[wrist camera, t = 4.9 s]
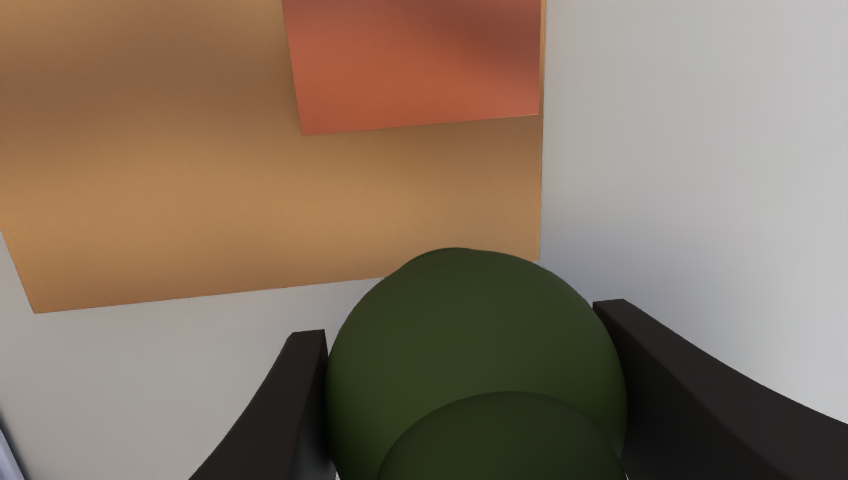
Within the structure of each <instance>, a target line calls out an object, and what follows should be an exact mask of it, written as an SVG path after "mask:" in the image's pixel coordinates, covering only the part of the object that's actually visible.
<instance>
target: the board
mask: <svg viewBox="0 0 848 480" xmlns="http://www.w3.org/2000/svg"><path fill="white" fill-rule="evenodd" d="M545 26H546V0H0V230H1V232H2V235H3V237H4V240H5V242H6V245H7V247H8V250H9V252H10V255H11V257H12V260H13V262H14V265H15V268H16V270H17V273H18V275H19V278H20V280H21V283H22V285H23V288H24V290H25V293H26V295H27V298H28V300H29V303H30V305H31V308H32V310H33V313H34V314H38V313H47V312H57V311H66V310H76V309H85V308H95V307H104V306H114V305H123V304H133V303H142V302H152V301H161V300H171V299H180V298H190V297H199V296H209V295H218V294H228V293H237V292H247V291H256V290H266V289H275V288H285V287H294V286H304V285H313V284H323V283H332V282H342V281H351V280H361V279H370V278H380V277H387V276H389V275H390V274H392V273H393V272H395V271H396V270H398V269H399V268H400V267H402V266H403V265H404V264H405V263H407V262H408V261H410V260H411V259H413V258H415V257H417V256H419V255H421V254H424V253H426V252H429V251H432V250H436V249H441V248H450V247H461V248H469V249H474V250H485V251H495V252H500V253H505V254H510V255H514V256H517V257H520V258H522V259H525V260H528V261H530V262H532V261H539V255H540V217H541V178H542V140H543V102H544V64H545Z"/></svg>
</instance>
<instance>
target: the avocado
mask: <svg viewBox="0 0 848 480" xmlns="http://www.w3.org/2000/svg"><path fill="white" fill-rule="evenodd" d="M627 415H628V404H627V391H626V384H625V377H624V374H623V370H622V366H621V363H620V359H619V356H618V353H617V350H616V348H615V346H614V344H613V342H612V340H611V338H610V336H609V334H608V332H607V330H606V328H605V326H604V324H603V323H602V321H601V320H600V319H599V317H598V316H597V315H596V313H595V312H594V311H593V309H592V308H591V307H590V305H589V304H588V303H587V301H586V300H585V299H584V298H583V297H582V296H580V295H579V294H578V293H577V292H576V291H575V290H574V289H573V288H572V287H571V286H570V285H568V284H567V283H566V282H565V281H563V280H562V279H561V278H559V277H558V276H556V275H555V274H553V273H552V272H550V271H548V270H546V269H544V268H542V267H540V266H538V265H536V264H534V263H532V262H530V261H528V260H525V259H522V258H520V257H517V256H514V255H510V254H505V253H500V252H495V251H485V250H474V249H469V248H461V247H450V248H441V249H436V250H432V251H429V252H426V253H424V254H421V255H419V256H417V257H415V258H413V259H411V260H410V261H408V262H407V263H405V264H404V265H403V266H402V267H400V268H399V269H398V270H396V271H395V272H393V273H392V274H390V275H389V276H387V277H386V278H385V279H383V280H382V281H380V282H379V283H378V284H376V285H375V286H374V287H373V288H372V289H371V290H370V291H369V292H368V293H367V294H366V295H364V297H363V298H362V299H361V300H360V301H359V303H358V304H357V305H356V306H355V307H354V309H353V310H352V312H351V313H350V314H349V316H348V317H347V319H346V321H345V322H344V324H343V325H342V327H341V329H340V330H339V333H338V335H337V337H336V339H335V342H334V344H333V346H332V349H331V352H330V354H329V358H328V361H327V365H326V369H325V376H324V384H323V420H324V430H325V437H326V442H327V446H328V450H329V454H330V457H331V460H332V462H333V464H334V467H335V469H336V471H337V473H338V475H339V478H340V480H627V477H626V474H625V472H624V469H623V467H622V464H621V462H620V460H619V459H620V456H621V454H622V451H623V446H624V441H625V435H626V428H627Z"/></svg>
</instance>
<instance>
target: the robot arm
mask: <svg viewBox="0 0 848 480" xmlns="http://www.w3.org/2000/svg"><path fill="white" fill-rule="evenodd" d="M592 309H593V311H594V312H595V313H596V315H597V316H598V317H599V319H600V320H601V321H602V323H603V324H604V326H605V328H606V330H607V332H608V334H609V336H610V338H611V340H612V342H613V344H614V346H615V348H616V350H617V353H618V356H619V359H620V363H621V366H622V370H623V374H624V377H625V384H626V391H627V404H628V415H627V428H626V435H625V441H624V446H623V451H622V454H621V456H620V459H619V460H620V462H621V464H622V467H623V469H624V471H625V473H626V475H627V477H628V479H629V480H848V424H846V423H844V422H841V421H839V420H836V419H834V418H831V417H829V416H826V415H824V414H822V413H819V412H817V411H815V410H813V409H810V408H808V407H806V406H804V405H802V404H800V403H798V402H796V401H793V400H791V399H789V398H787V397H785V396H783V395H781V394H779V393H777V392H775V391H773V390H771V389H769V388H767V387H765V386H763V385H761V384H759V383H757V382H755V381H754V380H752V379H750V378H748V377H747V376H745V375H743V374H741V373H740V372H738V371H736V370H734V369H733V368H731V367H729V366H727V365H726V364H724V363H722V362H721V361H719V360H717V359H716V358H714V357H712V356H711V355H709V354H707V353H706V352H704V351H703V350H701V349H699V348H698V347H696V346H695V345H693V344H692V343H690V342H689V341H687V340H685V339H684V338H682V337H681V336H679V335H678V334H676V333H675V332H673V331H672V330H670V329H669V328H667V327H666V326H664V325H663V324H661V323H660V322H658V321H657V320H655V319H654V318H652V317H651V316H649V315H648V314H646V313H645V312H643V311H642V310H640V309H639V308H637V307H636V306H634V305H633V304H631V303H629V302H628V301H626V300H624V299H615V300H605V301H596V302H593V308H592ZM327 361H328V351H327V344H326V337H325V330H324V329H321V330H312V331H302V332H293V333H292V334H291V335H290V336H289V337H288V338H287V340H286V342H285V344H284V346H283V348H282V350H281V352H280V354H279V356H278V357H277V359H276V361H275V363H274V364H273V366H272V368H271V370H270V371H269V373H268V375H267V376H266V378H265V380H264V381H263V383H262V384H261V386H260V387H259V389H258V390H257V392H256V394H255V395H254V397H253V398H252V400H251V401H250V403H249V404H248V406H247V407H246V409H245V410H244V412H243V413H242V414H241V416H240V417H239V418H238V420H237V421H236V422H235V424H234V425H233V426H232V428H231V429H230V431H229V432H228V433H227V435H226V436H225V437H224V439H223V440H222V441H221V442H220V444H219V445H218V446H217V447H216V449H215V450H214V451H213V452H212V453H211V455H210V456H209V457H208V458H207V459H206V460H205V462H204V463H203V464H202V465H201V466H200V467H199V468H198V469H197V471H196V472H195V473H194V474H193V475H192V476H191V477H190V478H189V479H188V480H335V478H336V469H335V467H334V464H333V462H332V460H331V457H330V454H329V450H328V446H327V442H326V437H325V430H324V420H323V384H324V376H325V369H326V365H327ZM0 480H24V478H23V476H22V473H21V471H20V469H19V467H18V465H17V463H16V461H15V459H14V456H13V454H12V452H11V450H10V448H9V446H8V444H7V442H6V440H5V437H4V435H3V433H2V431H1V429H0Z"/></svg>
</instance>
